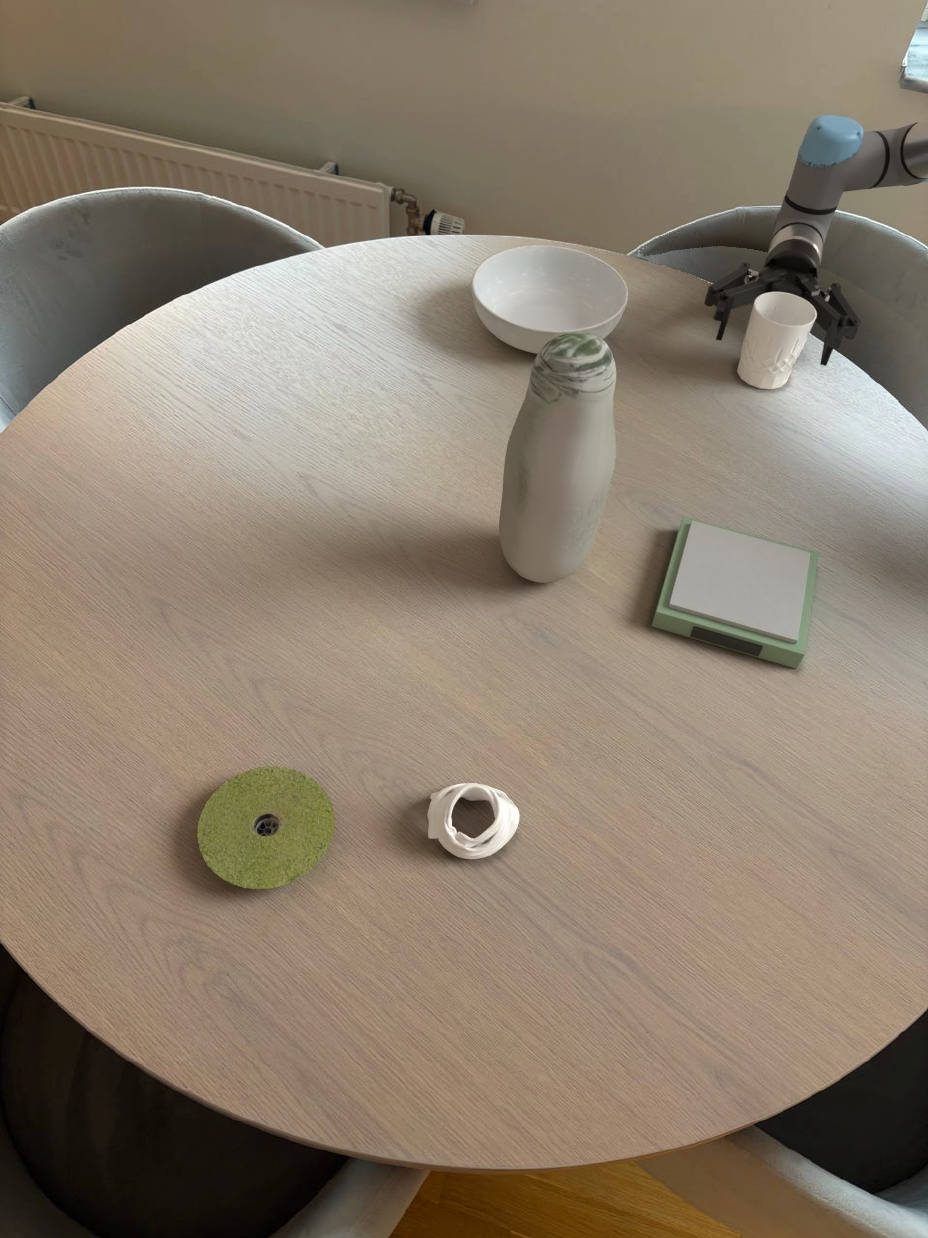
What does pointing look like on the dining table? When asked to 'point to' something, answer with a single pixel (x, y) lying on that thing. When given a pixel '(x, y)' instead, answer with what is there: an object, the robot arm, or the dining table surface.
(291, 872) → the green abrasive disc
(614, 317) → the serving bowl
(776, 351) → the white cup
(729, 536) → the kitchen scale
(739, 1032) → the dining table surface
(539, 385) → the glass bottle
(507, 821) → the white rolled strap
